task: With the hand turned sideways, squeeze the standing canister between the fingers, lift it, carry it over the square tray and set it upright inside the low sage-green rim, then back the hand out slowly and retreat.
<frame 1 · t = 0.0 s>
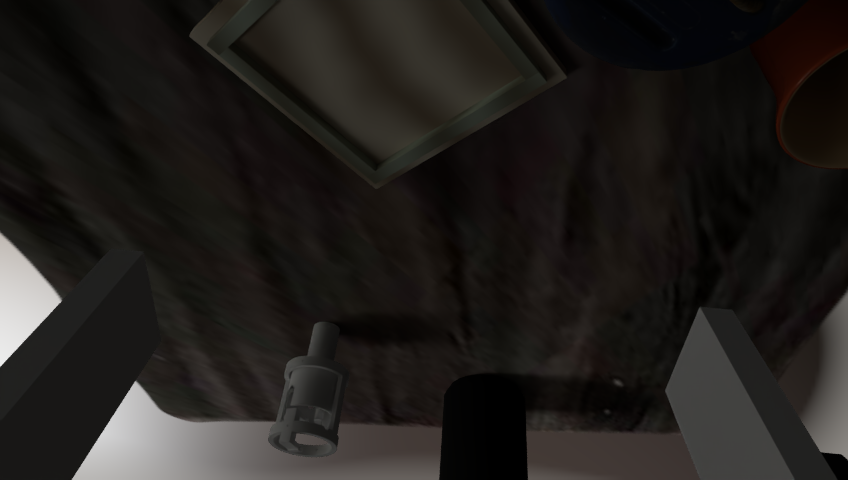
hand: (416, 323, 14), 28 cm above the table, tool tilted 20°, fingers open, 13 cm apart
square tray: (380, 48, 40), on the table
mug: (818, 13, 36), on the table
coffee jar: (484, 389, 79), on the table
strainer: (327, 327, 70), on the table
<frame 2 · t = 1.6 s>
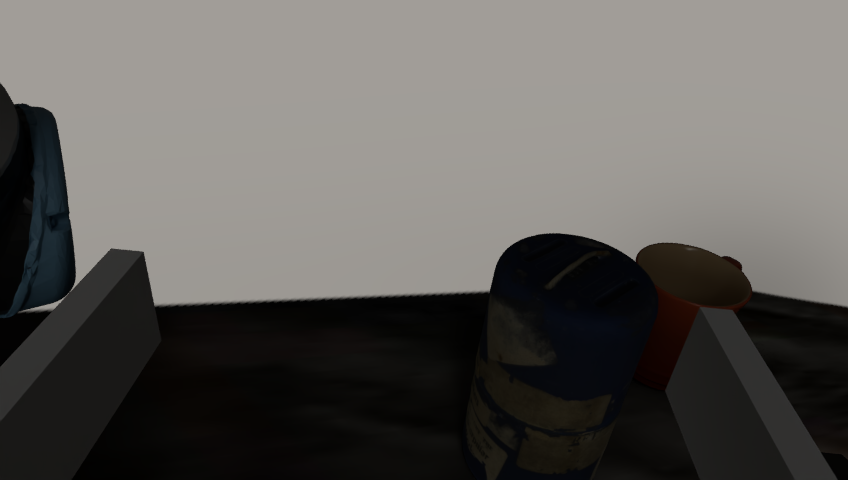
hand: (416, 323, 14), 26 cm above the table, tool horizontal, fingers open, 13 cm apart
mug: (664, 361, 53), on the table
canister: (524, 461, 43), on the table
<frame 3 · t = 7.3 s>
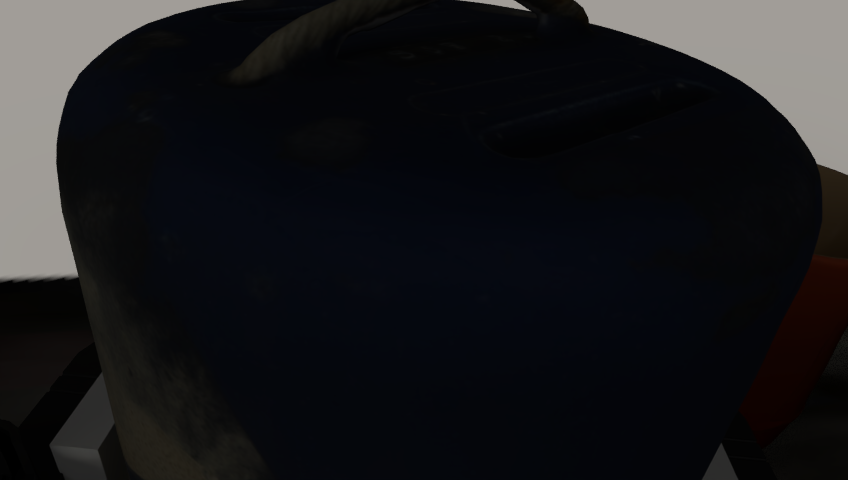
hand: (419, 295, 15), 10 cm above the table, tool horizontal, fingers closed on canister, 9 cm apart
mug: (707, 387, 27), on the table
when the fingers open (11 cm above the table, at t = 14.0 s): canister stays where it is, resting on square tray.
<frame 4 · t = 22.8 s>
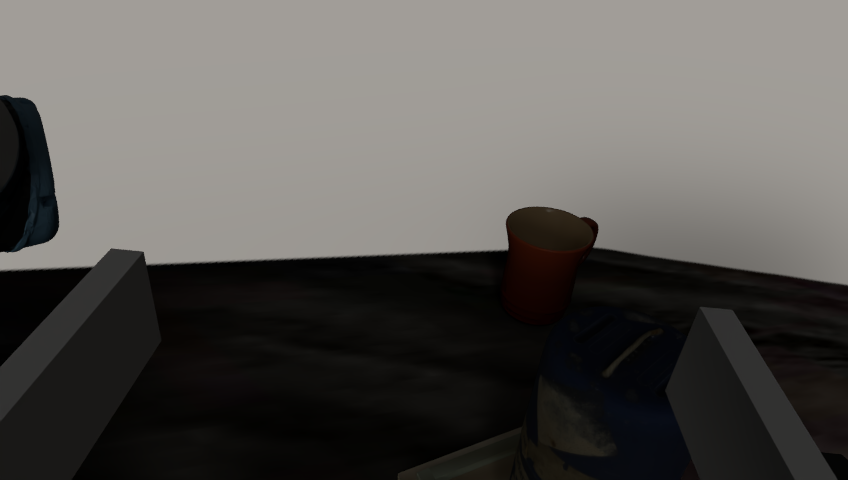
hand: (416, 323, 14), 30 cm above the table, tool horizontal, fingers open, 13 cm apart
mug: (541, 305, 65), on the table
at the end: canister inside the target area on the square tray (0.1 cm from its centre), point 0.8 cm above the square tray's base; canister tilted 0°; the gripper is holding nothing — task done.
